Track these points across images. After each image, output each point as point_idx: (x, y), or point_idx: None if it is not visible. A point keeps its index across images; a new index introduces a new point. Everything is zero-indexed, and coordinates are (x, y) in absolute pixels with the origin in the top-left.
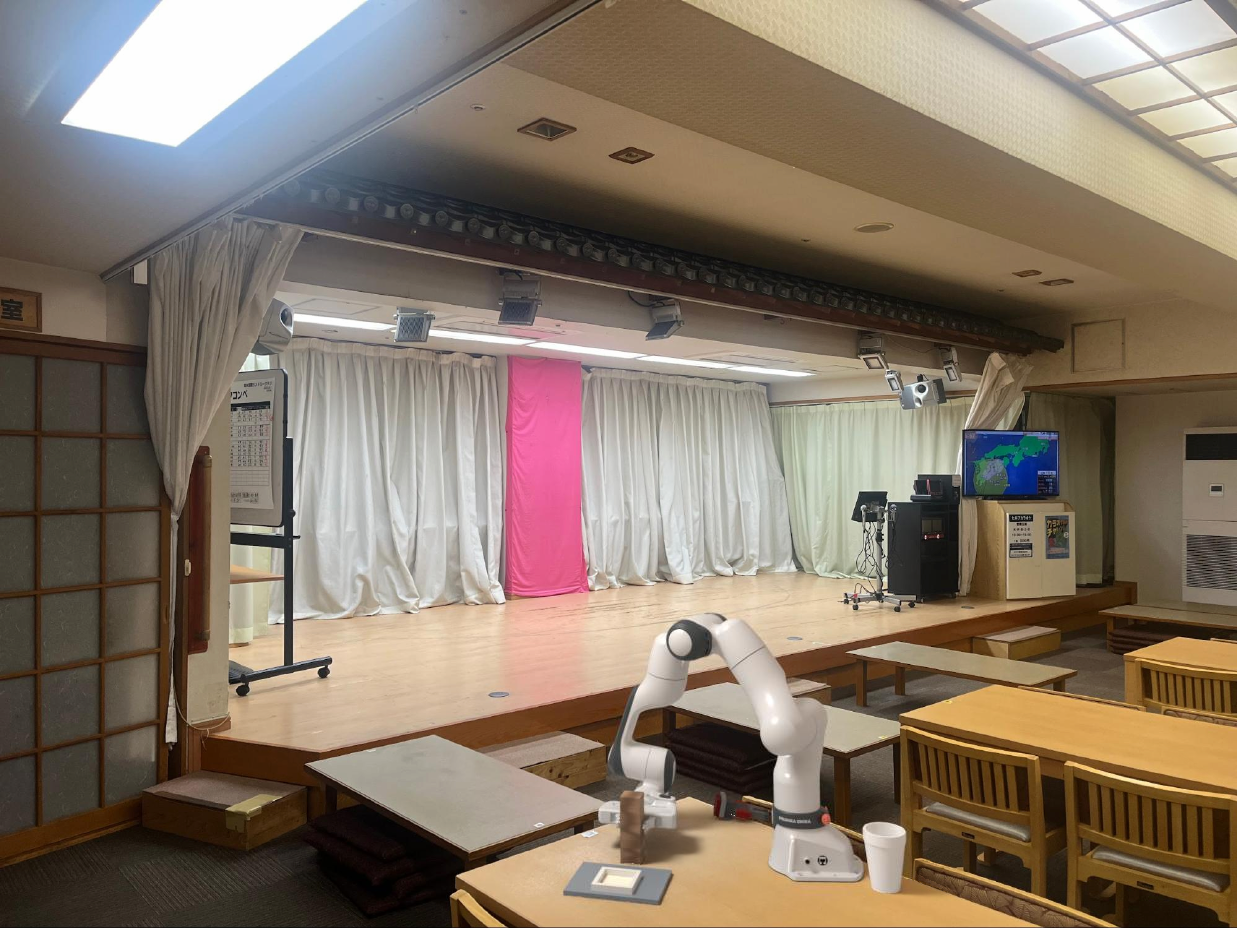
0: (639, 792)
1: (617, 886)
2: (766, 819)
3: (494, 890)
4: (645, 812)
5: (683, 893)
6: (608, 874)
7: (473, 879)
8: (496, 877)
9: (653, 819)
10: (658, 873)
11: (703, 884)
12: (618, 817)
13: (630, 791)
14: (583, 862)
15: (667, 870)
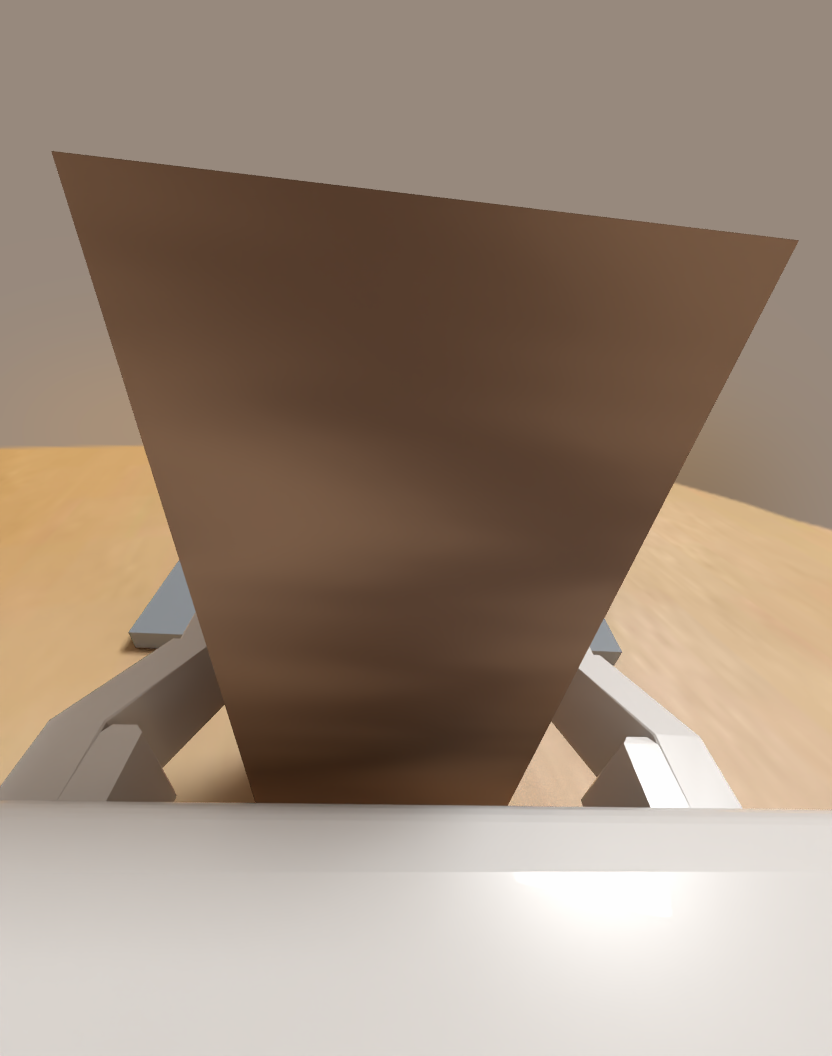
0: (250, 187)
1: None
2: None
3: (709, 500)
4: (167, 843)
5: (141, 523)
6: None
7: (828, 534)
8: (792, 548)
9: (74, 713)
10: None
11: (5, 581)
12: (609, 682)
13: (556, 220)
14: (613, 644)
15: (157, 625)
